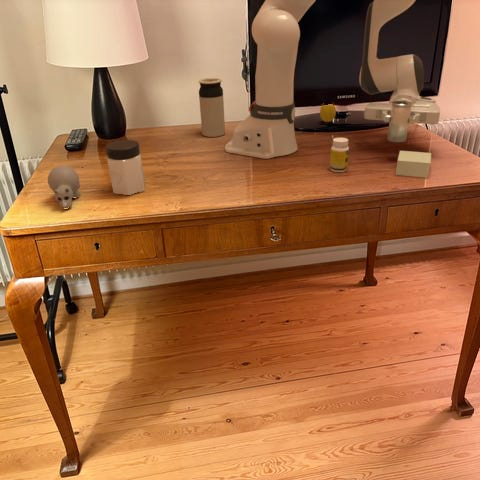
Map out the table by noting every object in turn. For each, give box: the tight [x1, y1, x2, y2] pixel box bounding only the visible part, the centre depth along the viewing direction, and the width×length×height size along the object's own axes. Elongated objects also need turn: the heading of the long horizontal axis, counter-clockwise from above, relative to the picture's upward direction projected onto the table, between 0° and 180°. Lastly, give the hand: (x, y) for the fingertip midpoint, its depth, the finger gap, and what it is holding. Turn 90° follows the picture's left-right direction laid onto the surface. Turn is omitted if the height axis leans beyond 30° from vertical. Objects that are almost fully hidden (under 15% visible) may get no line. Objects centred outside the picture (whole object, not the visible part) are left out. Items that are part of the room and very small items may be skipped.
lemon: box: [319, 103, 337, 123], centre depth 164 cm, size 6×6×8 cm
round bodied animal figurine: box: [47, 165, 81, 209], centre depth 112 cm, size 7×12×8 cm, turn 11°
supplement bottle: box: [329, 137, 350, 173], centre depth 124 cm, size 5×5×8 cm
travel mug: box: [198, 77, 226, 138], centre depth 155 cm, size 8×8×18 cm
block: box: [395, 150, 432, 179], centre depth 122 cm, size 8×8×4 cm
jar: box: [105, 139, 146, 196], centre depth 117 cm, size 9×8×12 cm
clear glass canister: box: [386, 101, 412, 143], centre depth 126 cm, size 5×5×10 cm
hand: (399, 120), depth 125 cm, fingers closed on clear glass canister, 5 cm apart
